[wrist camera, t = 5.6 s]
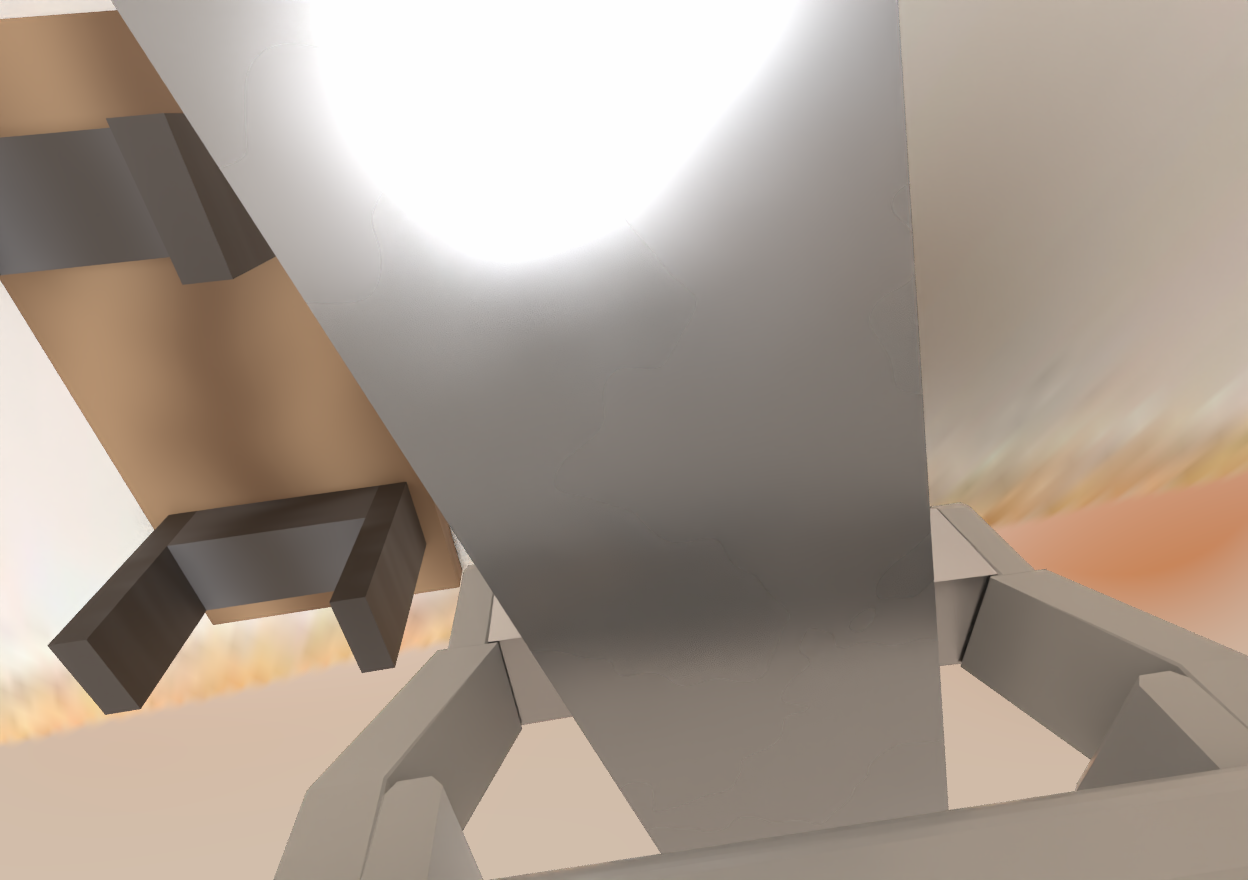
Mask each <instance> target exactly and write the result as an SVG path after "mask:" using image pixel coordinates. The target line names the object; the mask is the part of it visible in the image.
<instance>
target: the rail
mask: <svg viewBox="0 0 1248 880" xmlns="http://www.w3.org/2000/svg"><path fill="white" fill-rule="evenodd" d="M111 1H112V3H113V4H114V6H115V7H116V9H117V10H118V12H119V13H120V15H121V17H122V18H123V20H124V21H125V23H126V24H127V26H128V27H129V29H130V31H131V32H132V34H133V35H134V37H135V38H136V40H137V41H138V43H139V44H140V46H141V48H142V49H143V51H144V52H145V54H146V55H147V57H148V58H149V60H150V62H151V63H152V65H153V66H154V68H155V69H156V71H157V72H158V74H159V75H160V77H161V79H162V80H163V82H164V83H165V85H166V86H167V88H168V89H169V91H170V93H171V94H172V96H173V97H174V99H175V100H176V102H177V103H178V105H179V107H180V108H181V110H182V111H183V113H184V114H185V116H186V117H187V119H188V120H189V122H190V124H191V125H192V127H193V128H194V130H195V131H196V133H197V134H198V136H199V138H200V139H201V141H202V142H203V144H204V145H205V147H206V148H207V150H208V152H209V153H210V155H211V156H212V158H213V159H214V161H215V162H216V164H217V165H218V167H219V169H220V170H221V172H222V173H223V175H224V176H225V178H226V179H227V181H228V183H229V184H230V186H231V187H232V189H233V190H234V192H235V193H236V195H237V196H238V198H239V200H240V201H241V203H242V204H243V206H244V207H245V209H246V210H247V212H248V214H249V215H250V217H251V218H252V220H253V221H254V223H255V224H256V226H257V228H258V229H259V231H260V232H261V234H262V235H263V237H264V238H265V240H266V241H267V243H268V245H269V246H270V248H271V249H272V251H273V252H274V254H275V255H276V257H277V259H278V260H279V262H280V263H281V265H282V266H283V268H284V269H285V271H286V273H287V274H288V276H289V277H290V279H291V280H292V282H293V283H294V285H295V286H296V288H297V290H298V291H299V293H300V294H301V296H302V297H303V299H304V300H305V302H306V304H307V305H308V307H309V308H310V310H311V311H312V313H313V314H314V316H315V317H316V319H317V321H318V322H319V324H320V325H321V327H322V328H323V330H324V331H325V333H326V335H327V336H328V338H329V339H330V341H331V342H332V344H333V345H334V347H335V349H336V350H337V352H338V353H339V355H340V356H341V358H342V359H343V361H344V362H345V364H346V366H347V367H348V369H349V370H350V372H351V373H352V375H353V376H354V378H355V380H356V381H357V383H358V384H359V386H360V387H361V389H362V390H363V392H364V393H365V395H366V397H367V398H368V400H369V401H370V403H371V404H372V406H373V407H374V409H375V411H376V412H377V414H378V415H379V417H380V418H381V420H382V421H383V423H384V425H385V426H386V428H387V429H388V431H389V432H390V434H391V435H392V437H393V438H394V440H395V442H396V443H397V445H398V446H399V448H400V449H401V451H402V452H403V454H404V456H405V457H406V459H407V460H408V462H409V463H410V465H411V466H412V468H413V470H414V471H415V473H416V474H417V476H418V477H419V479H420V480H421V482H422V483H423V485H424V487H425V488H426V490H427V491H428V493H429V494H430V496H431V497H432V499H433V501H434V502H435V504H436V505H437V507H438V508H439V510H440V511H441V513H442V514H443V516H444V518H445V519H446V521H447V522H448V524H449V525H450V527H451V528H452V530H453V532H454V533H455V535H456V536H457V538H458V539H459V541H460V542H461V544H462V546H463V547H464V549H465V550H466V552H467V553H468V555H469V556H470V558H471V559H472V561H473V563H474V564H475V566H476V567H477V569H478V570H479V572H480V573H481V575H482V577H483V578H484V580H485V581H486V583H487V584H488V586H489V587H490V589H491V591H492V592H493V594H494V595H495V597H496V598H497V600H498V601H499V603H500V604H501V606H502V608H503V609H504V611H505V612H506V614H507V615H508V617H509V618H510V620H511V622H512V623H513V625H514V626H515V628H516V629H517V631H518V632H519V634H520V635H521V637H522V639H523V640H524V642H525V643H526V645H527V646H528V648H529V649H530V651H531V653H532V654H533V656H534V657H535V659H536V660H537V662H538V663H539V665H540V667H541V668H542V670H543V671H544V673H545V674H546V676H547V677H548V679H549V680H550V682H551V684H552V685H553V687H554V688H555V690H556V691H557V693H558V694H559V696H560V698H561V699H562V701H563V702H564V704H565V705H566V707H567V708H568V710H569V712H570V713H571V715H572V716H573V718H574V719H575V721H576V722H577V724H578V725H579V727H580V728H581V730H582V732H583V733H584V735H585V736H586V738H587V739H588V741H589V743H590V744H591V746H592V747H593V749H594V750H595V752H596V753H597V755H598V756H599V758H600V760H601V761H602V762H603V764H604V766H605V767H606V769H607V770H608V772H609V773H610V775H611V777H612V778H613V780H614V781H615V783H616V784H617V786H618V787H619V789H620V791H621V792H622V794H623V795H624V797H625V798H626V800H627V801H628V803H629V805H630V806H631V807H632V809H633V811H634V812H635V814H636V815H637V817H638V819H639V820H640V822H641V823H642V825H643V826H644V828H645V829H646V831H647V832H648V834H649V836H650V837H651V838H652V840H653V842H654V843H655V845H656V846H657V848H658V850H659V851H660V853H661V854H663V853H670V852H676V851H683V850H689V849H696V848H703V847H709V846H716V845H722V844H729V843H736V842H742V841H749V840H755V839H762V838H768V837H775V836H782V835H788V834H795V833H801V832H808V831H815V830H821V829H828V828H834V827H841V826H847V825H854V824H861V823H867V822H874V821H880V820H887V819H893V818H900V817H907V816H913V815H920V814H927V813H933V812H940V811H947V810H948V795H947V778H946V762H945V746H944V731H943V714H942V698H941V682H940V665H939V649H938V633H937V617H936V601H935V585H934V569H933V553H932V537H931V521H930V505H929V489H928V473H927V457H926V441H925V425H924V409H923V393H922V377H921V361H920V345H919V329H918V313H917V297H916V280H915V264H914V248H913V232H912V216H911V200H910V184H909V168H908V152H907V136H906V120H905V104H904V88H903V72H902V56H901V40H900V24H899V8H898V0H111Z"/></svg>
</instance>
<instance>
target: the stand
mask: <svg viewBox="0 0 1248 880" xmlns="http://www.w3.org/2000/svg"><path fill="white" fill-rule="evenodd" d="M0 280H1V282H2V283H3V285H4V287H5V288H6V290H7V291H8V293H9V295H10V296H11V298H12V300H13V301H14V303H15V304H16V306H17V308H18V309H19V311H20V313H21V314H22V316H23V317H24V319H25V321H26V322H27V324H28V326H29V327H30V329H31V330H32V332H33V334H34V335H35V337H36V339H37V340H38V342H39V343H40V345H41V347H42V348H43V350H44V351H45V353H46V355H47V356H48V358H49V360H50V361H51V363H52V364H53V366H54V368H55V369H56V371H57V373H58V374H59V376H60V377H61V379H62V381H63V382H64V384H65V386H66V387H67V389H68V390H69V392H70V394H71V395H72V397H73V399H74V400H75V402H76V403H77V405H78V407H79V408H80V410H81V412H82V413H83V415H84V416H85V418H86V420H87V421H88V423H89V425H90V426H91V428H92V429H93V431H94V433H95V434H96V436H97V437H98V439H99V441H100V442H101V444H102V446H103V447H104V449H105V450H106V452H107V454H108V455H109V457H110V459H111V460H112V462H113V463H114V465H115V467H116V468H117V470H118V472H119V473H120V475H121V476H122V478H123V480H124V481H125V483H126V485H127V486H128V488H129V489H130V491H131V493H132V494H133V496H134V498H135V499H136V501H137V502H138V504H139V506H140V507H141V509H142V511H143V512H144V514H145V515H146V517H147V519H148V520H149V522H150V523H151V525H152V527H153V528H154V531H153V532H152V533H151V534H150V536H149V537H148V538H147V539H146V540H145V541H144V542H143V543H142V544H141V545H140V546H139V547H138V548H137V550H136V551H135V552H134V553H133V554H132V555H131V556H130V557H129V558H128V559H127V560H126V561H125V563H124V564H123V565H122V566H121V567H120V568H119V569H118V570H117V571H116V572H115V573H114V574H113V575H112V577H111V578H110V579H109V580H108V581H107V582H106V583H105V584H104V585H103V586H102V587H101V588H100V590H99V591H98V592H97V593H96V594H95V595H94V596H93V597H92V598H91V599H90V600H89V601H88V602H87V604H86V605H85V606H84V607H83V608H82V609H81V610H80V611H79V612H78V613H77V614H76V615H75V617H74V618H73V619H72V620H71V621H70V622H69V623H68V624H67V625H66V626H65V627H64V628H63V629H62V631H61V632H60V633H59V634H58V635H57V636H56V637H55V638H54V639H53V640H52V641H51V642H50V644H49V645H48V647H49V648H50V649H51V650H52V652H53V653H54V654H55V655H56V656H57V658H58V659H59V660H60V661H61V662H62V664H63V665H64V666H65V667H66V668H67V669H68V671H69V672H70V673H71V674H72V675H73V677H74V678H75V679H76V680H77V681H78V683H79V684H80V685H81V686H82V687H83V689H84V690H85V691H86V692H87V693H88V695H89V696H90V697H91V698H92V699H93V700H94V702H95V703H96V704H97V705H98V706H99V708H100V709H101V710H102V711H103V712H104V714H105V715H107V714H113V713H119V712H125V711H131V710H137V709H141V708H142V706H143V705H144V703H145V702H146V700H147V699H148V697H149V696H150V694H151V693H152V691H153V690H154V688H155V687H156V685H157V684H158V682H159V681H160V679H161V678H162V676H163V675H164V673H165V672H166V670H167V669H168V667H169V666H170V664H171V663H172V661H173V660H174V658H175V657H176V655H177V654H178V652H179V651H180V649H181V648H182V646H183V645H184V643H185V642H186V640H187V639H188V637H189V636H190V634H191V633H192V631H193V630H194V628H195V627H196V625H197V624H198V622H199V621H200V619H201V618H202V616H203V615H204V614H205V613H206V614H207V616H208V618H209V619H210V621H211V622H212V624H213V625H216V624H223V623H229V622H236V621H242V620H249V619H255V618H262V617H268V616H275V615H281V614H288V613H294V612H301V611H307V610H314V609H320V608H327V607H332V609H333V612H334V614H335V616H336V618H337V620H338V622H339V625H340V627H341V629H342V631H343V633H344V635H345V638H346V640H347V642H348V644H349V646H350V648H351V651H352V653H353V655H354V657H355V659H356V661H357V664H358V666H359V668H360V670H361V672H362V673H365V672H371V671H377V670H383V669H389V668H394V667H395V665H396V661H397V657H398V653H399V649H400V645H401V642H402V638H403V634H404V630H405V626H406V622H407V618H408V614H409V610H410V607H411V603H412V599H413V595H414V594H418V593H424V592H431V591H437V590H444V589H450V588H457V587H460V581H461V575H462V569H461V566H460V562H459V559H458V555H457V552H456V548H455V545H454V542H453V538H452V535H451V531H450V528H449V525H448V522H447V521H446V519H445V518H444V516H443V514H442V513H441V511H440V510H439V508H438V507H437V505H436V504H435V502H434V501H433V499H432V497H431V496H430V494H429V493H428V491H427V490H426V488H425V487H424V485H423V483H422V482H421V480H420V479H419V477H418V476H417V474H416V473H415V471H414V470H413V468H412V466H411V465H410V463H409V462H408V460H407V459H406V457H405V456H404V454H403V452H402V451H401V449H400V448H399V446H398V445H397V443H396V442H395V440H394V438H393V437H392V435H391V434H390V432H389V431H388V429H387V428H386V426H385V425H384V423H383V421H382V420H381V418H380V417H379V415H378V414H377V412H376V411H375V409H374V407H373V406H372V404H371V403H370V401H369V400H368V398H367V397H366V395H365V393H364V392H363V390H362V389H361V387H360V386H359V384H358V383H357V381H356V380H355V378H354V376H353V375H352V373H351V372H350V370H349V369H348V367H347V366H346V364H345V362H344V361H343V359H342V358H341V356H340V355H339V353H338V352H337V350H336V349H335V347H334V345H333V344H332V342H331V341H330V339H329V338H328V336H327V335H326V333H325V331H324V330H323V328H322V327H321V325H320V324H319V322H318V321H317V319H316V317H315V316H314V314H313V313H312V311H311V310H310V308H309V307H308V305H307V304H306V302H305V300H304V299H303V297H302V296H301V294H300V293H299V291H298V290H297V288H296V286H295V285H294V283H293V282H292V280H291V279H290V277H289V276H288V274H287V273H286V271H285V269H284V268H283V266H282V265H281V263H280V262H279V260H278V259H277V257H276V255H275V254H274V252H273V251H272V249H271V248H270V246H269V245H268V243H267V241H266V240H265V238H264V237H263V235H262V234H261V232H260V231H259V229H258V228H257V226H256V224H255V223H254V221H253V220H252V218H251V217H250V215H249V214H248V212H247V210H246V209H245V207H244V206H243V204H242V203H241V201H240V200H239V198H238V196H237V195H236V193H235V192H234V190H233V189H232V187H231V186H230V184H229V183H228V181H227V179H226V178H225V176H224V175H223V173H222V172H221V170H220V169H219V167H218V165H217V164H216V162H215V161H214V159H213V158H212V156H211V155H210V153H209V152H208V150H207V148H206V147H205V145H204V144H203V142H202V141H201V139H200V138H199V136H198V134H197V133H196V131H195V130H194V128H193V127H192V125H191V124H190V122H189V120H188V119H187V117H186V116H185V114H184V113H183V111H182V110H181V108H180V107H179V105H178V103H177V102H176V100H175V99H174V97H173V96H172V94H171V93H170V91H169V89H168V88H167V86H166V85H165V83H164V82H163V80H162V79H161V77H160V75H159V74H158V72H157V71H156V69H155V68H154V66H153V65H152V63H151V62H150V60H149V58H148V57H147V55H146V54H145V52H144V51H143V49H142V48H141V46H140V44H139V43H138V41H137V40H136V38H135V37H134V35H133V34H132V32H131V31H130V29H129V27H128V26H127V24H126V23H125V21H124V20H123V18H122V17H121V15H120V13H119V12H118V10H115V11H102V12H88V13H75V14H62V15H49V16H36V17H23V18H10V19H0Z"/></svg>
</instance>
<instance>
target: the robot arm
mask: <svg viewBox="0 0 1248 880" xmlns="http://www.w3.org/2000/svg"><path fill="white" fill-rule="evenodd" d="M930 521H931V537H932V553H933V569H934V585H935V601H936V617H937V633H938V649H939V665H940V666H944V665H952V664H961V667H962V668H963V669H965V670H966V671H968V672H969V673H970V674H972V675H973V676H975V677H976V678H977V679H979V680H980V681H982V682H983V683H985V684H986V685H987V686H989V687H990V688H991V689H993V690H994V691H996V692H997V693H998V694H1000V695H1001V696H1003V697H1004V698H1005V699H1007V700H1008V701H1010V702H1011V703H1012V704H1014V705H1015V706H1017V707H1018V708H1019V709H1021V710H1022V711H1024V712H1025V713H1026V714H1028V715H1029V716H1030V717H1032V718H1033V719H1035V720H1036V721H1038V722H1039V723H1040V724H1042V725H1043V726H1045V727H1046V728H1047V729H1049V730H1050V731H1051V732H1053V733H1054V734H1056V735H1057V736H1058V737H1060V738H1061V739H1063V740H1064V741H1066V742H1067V743H1068V744H1070V745H1071V746H1072V747H1074V748H1075V749H1076V750H1078V751H1079V752H1081V753H1082V754H1083V755H1085V756H1086V757H1088V758H1089V759H1090V762H1089V764H1088V765H1087V767H1086V769H1085V771H1084V772H1083V774H1082V776H1081V778H1080V779H1079V781H1078V783H1077V786H1076V789H1075V791H1073V792H1067V793H1060V794H1053V795H1047V796H1040V797H1033V798H1027V799H1020V800H1013V801H1006V802H1000V803H994V804H987V805H980V806H974V807H967V808H960V809H954V810H947V811H940V812H933V813H927V814H920V815H913V816H907V817H900V818H893V819H887V820H880V821H874V822H867V823H861V824H854V825H847V826H841V827H834V828H828V829H821V830H815V831H808V832H801V833H795V834H788V835H782V836H775V837H768V838H762V839H755V840H749V841H742V842H736V843H729V844H722V845H716V846H709V847H703V848H696V849H689V850H683V851H676V852H670V853H663V854H657V855H651V856H643V857H637V858H630V859H623V860H617V861H611V862H604V863H598V864H590V865H584V866H577V867H571V868H565V869H558V870H551V871H545V872H538V873H532V874H525V875H518V876H512V877H505V878H498V879H491V880H1248V656H1247V655H1245V654H1242V653H1240V652H1237V651H1235V650H1233V649H1231V648H1228V647H1226V646H1223V645H1221V644H1219V643H1216V642H1214V641H1212V640H1209V639H1207V638H1205V637H1202V636H1200V635H1198V634H1195V633H1193V632H1191V631H1188V630H1186V629H1184V628H1181V627H1179V626H1177V625H1174V624H1172V623H1170V622H1167V621H1165V620H1163V619H1160V618H1158V617H1156V616H1153V615H1151V614H1149V613H1146V612H1144V611H1142V610H1139V609H1137V608H1135V607H1132V606H1130V605H1128V604H1125V603H1123V602H1121V601H1118V600H1116V599H1114V598H1111V597H1109V596H1107V595H1104V594H1102V593H1100V592H1097V591H1095V590H1093V589H1090V588H1088V587H1086V586H1083V585H1081V584H1078V583H1076V582H1074V581H1072V580H1069V579H1067V578H1065V577H1062V576H1060V575H1058V574H1055V573H1053V572H1051V571H1048V570H1046V569H1043V570H1034V569H1033V568H1032V567H1031V566H1030V565H1029V564H1028V563H1027V562H1026V561H1025V560H1024V559H1023V558H1022V557H1021V556H1020V555H1019V554H1018V553H1017V552H1016V551H1015V550H1014V549H1013V548H1012V547H1011V546H1010V545H1009V544H1008V543H1007V542H1006V541H1005V540H1004V539H1002V537H1001V536H999V535H998V534H997V533H996V532H995V531H994V530H993V529H992V528H991V527H990V526H989V525H988V524H987V523H986V522H985V521H984V520H983V519H982V518H981V517H980V516H979V515H978V514H977V513H976V512H975V511H974V510H973V509H972V508H971V507H970V506H968V505H966V504H963V503H961V502H960V503H953V504H946V505H940V506H933V507H930ZM567 717H572V715H571V713H570V712H569V710H568V708H567V707H566V705H565V704H564V702H563V701H562V699H561V698H560V696H559V694H558V693H557V691H556V690H555V688H554V687H553V685H552V684H551V682H550V680H549V679H548V677H547V676H546V674H545V673H544V671H543V670H542V668H541V667H540V665H539V663H538V662H537V660H536V659H535V657H534V656H533V654H532V653H531V651H530V649H529V648H528V646H527V645H526V643H525V642H524V640H523V639H522V637H521V635H520V634H519V632H518V631H517V629H516V628H515V626H514V625H513V623H512V622H511V620H510V618H509V617H508V615H507V614H506V612H505V611H504V609H503V608H502V606H501V604H500V603H499V601H498V600H497V598H496V597H495V595H494V594H493V592H492V591H491V589H490V587H489V586H488V584H487V583H486V581H485V580H484V578H483V577H482V575H481V573H480V572H479V570H478V569H477V567H476V566H475V565H468V566H467V568H466V570H465V571H464V573H463V577H462V582H461V587H460V592H459V597H458V602H457V607H456V612H455V617H454V621H453V626H452V631H451V636H450V641H449V646H448V649H444V650H438V651H437V652H436V653H435V654H434V655H433V656H432V657H431V658H430V659H429V660H428V661H427V662H426V664H425V665H424V666H423V667H422V668H421V669H420V670H419V671H418V672H417V673H416V674H415V675H414V676H413V677H412V679H411V680H410V681H409V682H408V683H407V684H406V685H405V686H404V687H403V688H402V689H401V690H400V691H399V693H397V695H396V696H395V697H394V698H393V699H392V700H391V701H390V702H389V703H388V704H387V705H386V706H385V708H383V710H382V711H381V712H380V713H379V714H378V715H377V716H376V717H375V718H374V719H373V720H372V721H371V722H370V724H369V725H368V726H367V727H366V728H365V729H364V730H363V731H362V732H361V733H360V734H359V735H358V736H357V737H356V738H355V740H353V742H352V743H351V744H350V745H349V746H348V747H347V748H346V749H345V750H344V751H343V752H342V753H341V754H340V755H339V756H338V758H337V759H336V760H335V761H334V762H333V763H332V764H331V765H330V766H329V767H328V768H327V769H326V770H325V772H323V774H322V775H321V776H320V777H319V778H318V779H317V780H316V781H315V782H314V783H313V784H312V785H311V786H310V788H309V789H308V790H307V791H306V794H305V796H304V799H303V802H302V804H301V807H300V810H299V813H298V815H297V818H296V820H295V823H294V826H293V829H292V831H291V834H290V837H289V839H288V842H287V845H286V847H285V851H284V853H283V856H282V858H281V861H280V864H279V866H278V869H277V872H276V875H275V877H274V880H483V878H482V876H481V873H480V871H479V869H478V866H477V864H476V862H475V859H474V857H473V855H472V853H471V851H470V848H469V846H468V843H467V841H466V839H465V836H464V834H463V832H462V831H463V830H464V828H465V826H466V824H467V822H468V821H469V819H470V817H471V816H472V814H473V812H474V811H475V809H476V807H477V805H478V804H479V802H480V800H481V799H482V797H483V795H484V793H485V792H486V790H487V788H488V786H489V785H490V783H491V781H492V780H493V778H494V776H495V774H496V773H497V771H498V769H499V768H500V766H501V764H502V762H503V761H504V759H505V757H506V755H507V754H508V752H509V750H510V749H511V747H512V745H513V743H514V741H515V740H516V738H517V736H518V735H519V733H520V731H521V730H522V727H521V725H525V724H531V723H536V722H543V721H548V720H555V719H561V718H567Z"/></svg>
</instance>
